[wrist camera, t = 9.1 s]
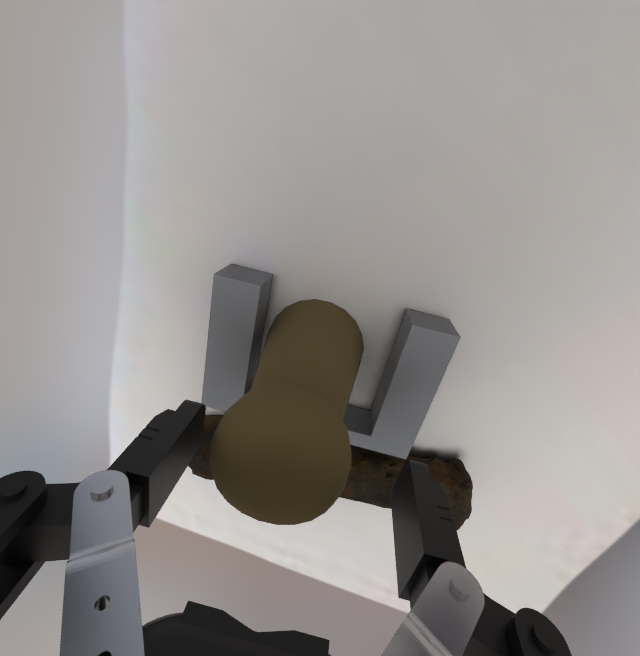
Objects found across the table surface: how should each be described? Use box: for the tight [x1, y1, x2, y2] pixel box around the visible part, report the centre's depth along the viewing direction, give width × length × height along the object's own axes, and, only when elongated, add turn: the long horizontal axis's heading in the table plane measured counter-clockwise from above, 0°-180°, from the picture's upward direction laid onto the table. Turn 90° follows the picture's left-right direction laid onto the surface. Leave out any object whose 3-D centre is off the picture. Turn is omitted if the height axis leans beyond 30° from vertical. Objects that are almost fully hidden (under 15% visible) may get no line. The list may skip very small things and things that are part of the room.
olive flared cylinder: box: [210, 300, 364, 525], centre depth 16 cm, size 6×6×11 cm
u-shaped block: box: [202, 264, 460, 459], centre depth 20 cm, size 8×13×2 cm, turn 77°
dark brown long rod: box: [188, 415, 473, 530], centre depth 22 cm, size 19×4×5 cm, turn 78°
